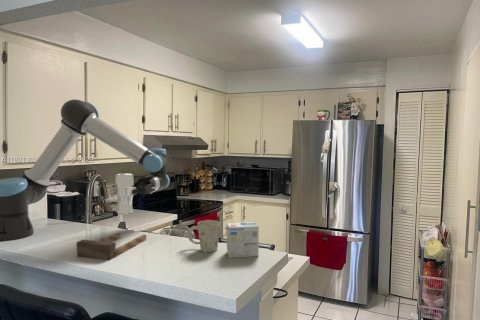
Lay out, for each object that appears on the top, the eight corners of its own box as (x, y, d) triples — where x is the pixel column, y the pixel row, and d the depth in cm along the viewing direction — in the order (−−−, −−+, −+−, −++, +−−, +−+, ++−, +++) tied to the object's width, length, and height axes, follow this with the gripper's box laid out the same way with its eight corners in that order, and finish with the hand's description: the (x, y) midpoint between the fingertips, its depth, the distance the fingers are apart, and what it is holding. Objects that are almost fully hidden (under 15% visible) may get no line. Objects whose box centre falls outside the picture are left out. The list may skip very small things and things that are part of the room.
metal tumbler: (133, 214, 135) (132, 174, 134) (114, 214, 134) (113, 175, 133) (135, 210, 142) (135, 173, 141) (117, 210, 141) (116, 173, 140)
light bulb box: (255, 250, 129) (255, 221, 128) (259, 256, 122) (259, 226, 122) (226, 252, 127) (226, 222, 127) (228, 258, 121) (228, 227, 120)
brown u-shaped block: (117, 237, 145) (117, 225, 145) (146, 239, 142) (146, 227, 141) (77, 256, 122) (76, 242, 121) (110, 259, 119) (110, 245, 118)
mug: (216, 254, 125) (217, 226, 124) (183, 251, 127) (183, 224, 127) (222, 247, 133) (222, 220, 132) (190, 244, 136) (190, 219, 135)
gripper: (168, 194, 153) (141, 203, 131) (127, 192, 158) (94, 201, 135) (168, 177, 153) (141, 183, 130) (127, 175, 157) (94, 181, 135)
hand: (117, 192), depth 133 cm, fingers closed on metal tumbler, 7 cm apart
